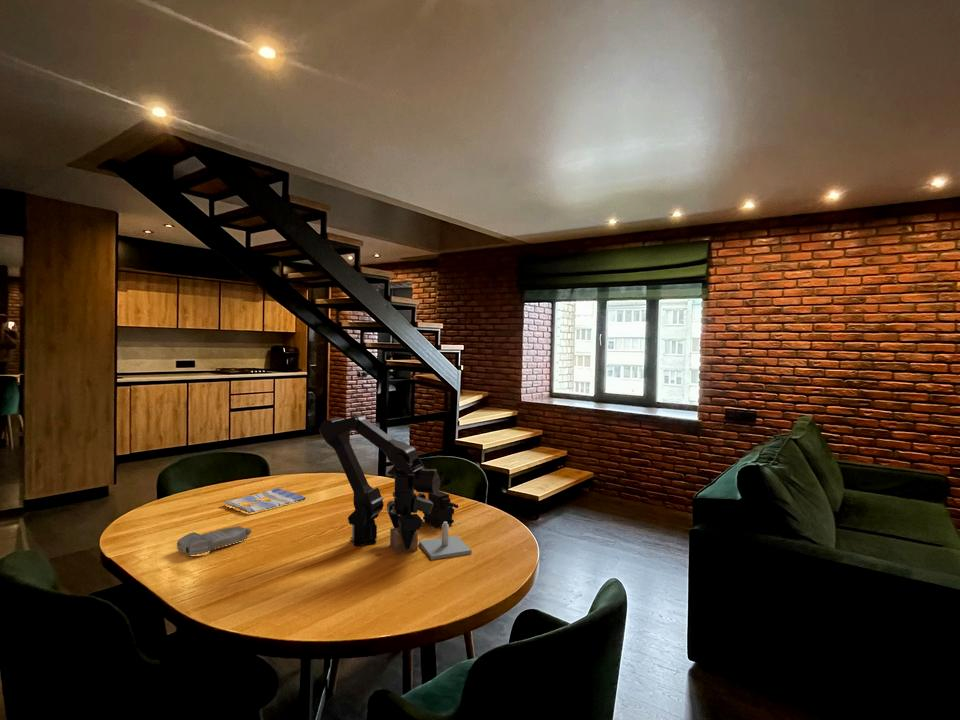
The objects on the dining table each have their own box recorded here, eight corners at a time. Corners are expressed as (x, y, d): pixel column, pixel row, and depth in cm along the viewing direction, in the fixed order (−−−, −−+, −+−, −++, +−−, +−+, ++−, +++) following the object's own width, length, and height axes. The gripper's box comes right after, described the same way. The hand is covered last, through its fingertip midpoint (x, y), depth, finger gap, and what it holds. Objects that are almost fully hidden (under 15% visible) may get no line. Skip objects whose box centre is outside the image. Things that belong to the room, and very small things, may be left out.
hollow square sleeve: (395, 553, 145) (395, 536, 145) (390, 545, 151) (390, 528, 151) (417, 550, 147) (417, 533, 147) (411, 542, 153) (411, 525, 153)
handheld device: (259, 539, 154) (259, 524, 154) (190, 562, 138) (190, 545, 138) (242, 532, 160) (242, 517, 160) (174, 553, 143) (174, 536, 143)
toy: (448, 533, 161) (448, 502, 161) (420, 522, 171) (421, 492, 171) (465, 528, 166) (466, 497, 166) (438, 517, 176) (438, 488, 176)
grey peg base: (431, 559, 141) (431, 531, 141) (419, 544, 152) (419, 518, 152) (471, 553, 146) (472, 526, 146) (456, 538, 157) (457, 513, 157)
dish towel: (221, 507, 184) (221, 500, 184) (279, 493, 203) (279, 486, 203) (247, 517, 174) (247, 509, 174) (306, 501, 193) (306, 494, 193)
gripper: (440, 496, 143) (440, 551, 144) (421, 479, 160) (420, 528, 161) (402, 500, 139) (401, 556, 139) (386, 482, 156) (385, 533, 156)
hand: (403, 543), depth 149 cm, fingers open, 9 cm apart
